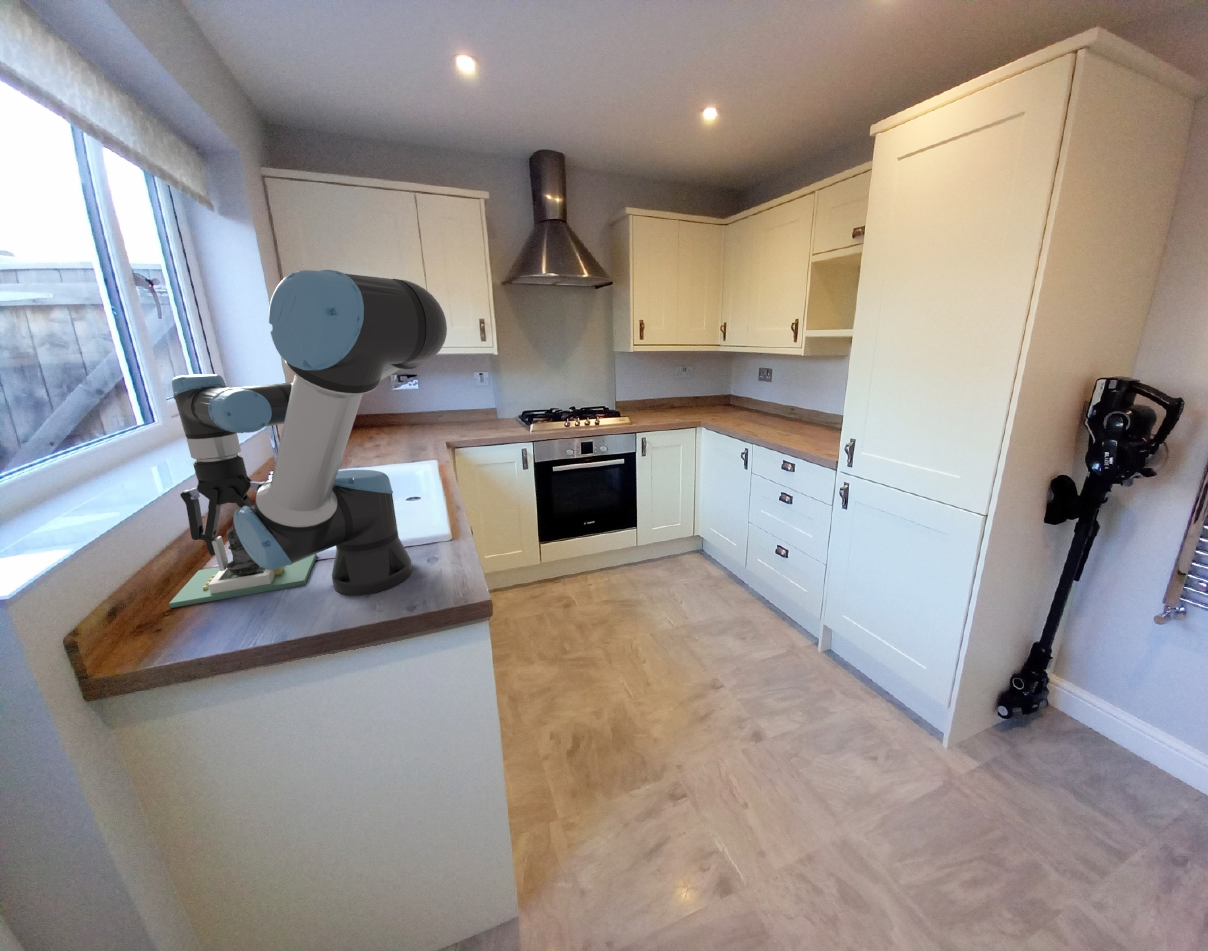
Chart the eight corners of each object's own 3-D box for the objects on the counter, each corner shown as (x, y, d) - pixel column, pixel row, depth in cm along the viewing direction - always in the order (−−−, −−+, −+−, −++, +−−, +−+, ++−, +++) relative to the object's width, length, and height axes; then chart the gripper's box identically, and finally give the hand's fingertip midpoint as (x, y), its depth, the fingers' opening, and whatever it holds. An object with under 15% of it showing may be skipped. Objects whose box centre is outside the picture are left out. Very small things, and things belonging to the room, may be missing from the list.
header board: (316, 556, 108) (314, 544, 107) (305, 584, 95) (302, 571, 94) (199, 574, 100) (196, 561, 99) (170, 608, 87) (165, 594, 86)
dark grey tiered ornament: (272, 569, 99) (257, 517, 95) (253, 583, 94) (237, 529, 90) (244, 570, 99) (228, 518, 95) (223, 585, 93) (206, 530, 90)
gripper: (281, 447, 96) (303, 549, 102) (162, 457, 89) (194, 565, 95) (272, 456, 89) (296, 563, 96) (143, 467, 82) (178, 582, 89)
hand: (245, 564), depth 95 cm, fingers open, 6 cm apart
